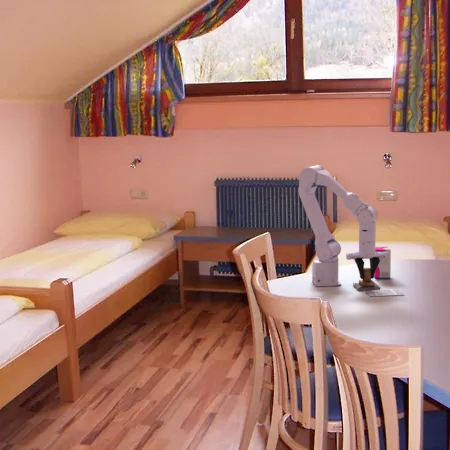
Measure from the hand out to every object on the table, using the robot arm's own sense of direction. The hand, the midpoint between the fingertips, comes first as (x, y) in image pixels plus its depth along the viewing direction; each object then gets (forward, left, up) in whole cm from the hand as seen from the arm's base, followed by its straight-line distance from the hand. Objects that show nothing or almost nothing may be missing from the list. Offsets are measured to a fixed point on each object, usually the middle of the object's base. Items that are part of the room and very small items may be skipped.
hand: (366, 278), depth 248 cm
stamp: (0, 0, -2) cm, 2 cm away
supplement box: (+10, +15, -4) cm, 18 cm away
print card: (+4, -8, -4) cm, 10 cm away
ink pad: (0, 0, -4) cm, 4 cm away
